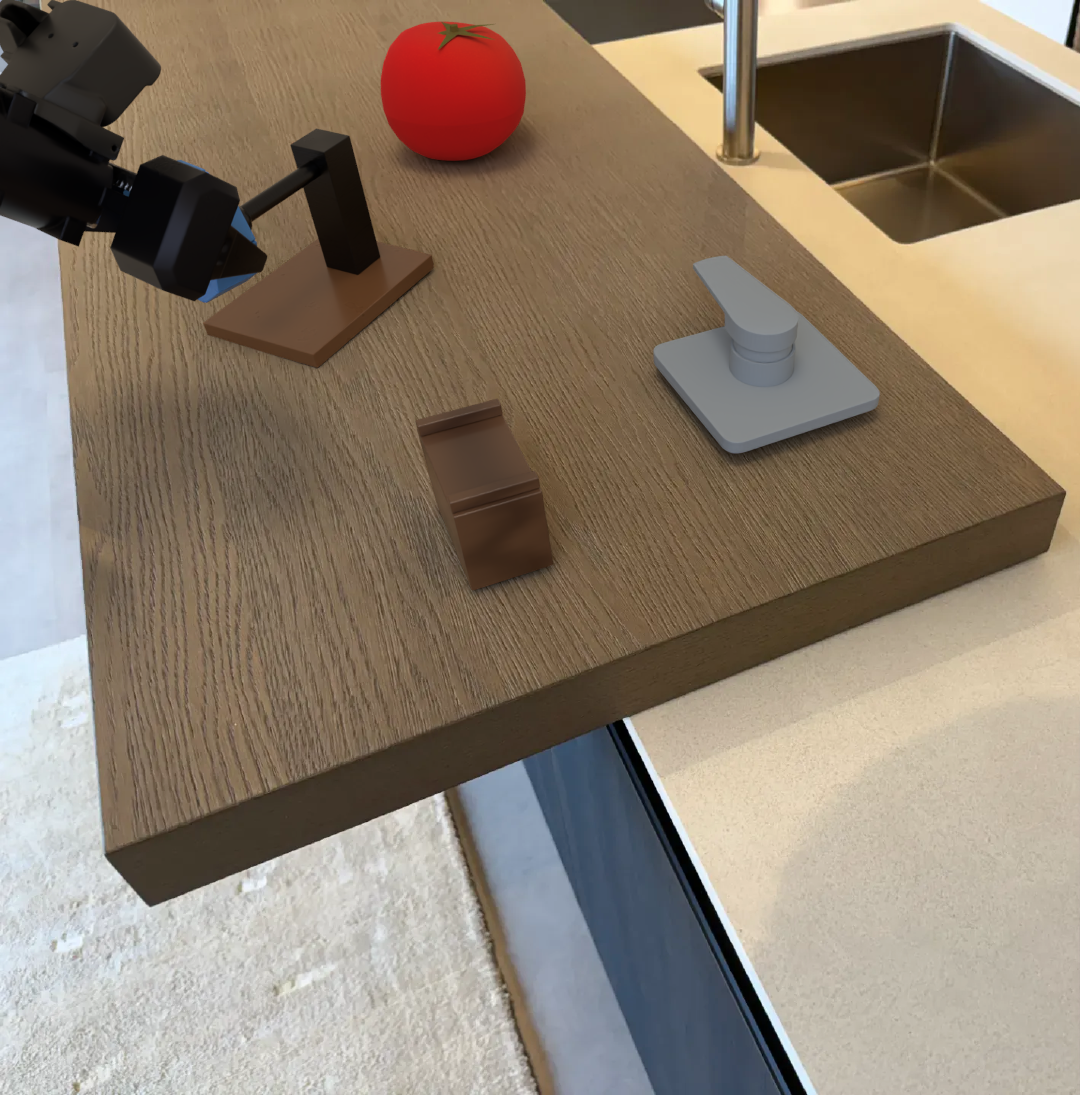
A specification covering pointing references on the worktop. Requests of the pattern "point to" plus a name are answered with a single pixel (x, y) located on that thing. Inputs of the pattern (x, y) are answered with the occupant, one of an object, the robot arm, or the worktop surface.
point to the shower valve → (760, 366)
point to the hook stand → (320, 264)
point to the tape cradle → (485, 493)
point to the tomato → (452, 90)
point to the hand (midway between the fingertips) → (219, 244)
